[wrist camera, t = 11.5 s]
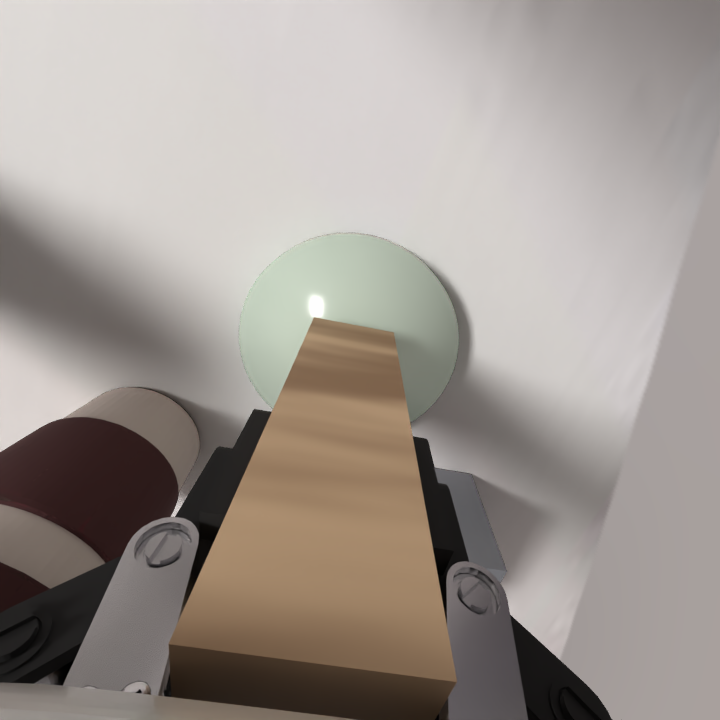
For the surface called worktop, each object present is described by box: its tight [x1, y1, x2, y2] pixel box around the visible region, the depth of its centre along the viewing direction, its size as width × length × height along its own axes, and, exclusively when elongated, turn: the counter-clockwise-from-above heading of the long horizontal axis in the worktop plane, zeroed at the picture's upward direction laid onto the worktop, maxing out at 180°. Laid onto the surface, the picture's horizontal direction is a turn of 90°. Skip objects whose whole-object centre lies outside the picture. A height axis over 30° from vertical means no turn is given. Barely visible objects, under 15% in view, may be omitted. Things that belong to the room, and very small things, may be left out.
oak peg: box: [168, 317, 457, 720], centre depth 12 cm, size 4×4×14 cm
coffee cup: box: [0, 387, 200, 613], centre depth 17 cm, size 10×10×15 cm
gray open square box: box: [435, 468, 507, 583], centre depth 23 cm, size 8×8×7 cm
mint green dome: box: [239, 233, 459, 423], centre depth 20 cm, size 12×12×1 cm
